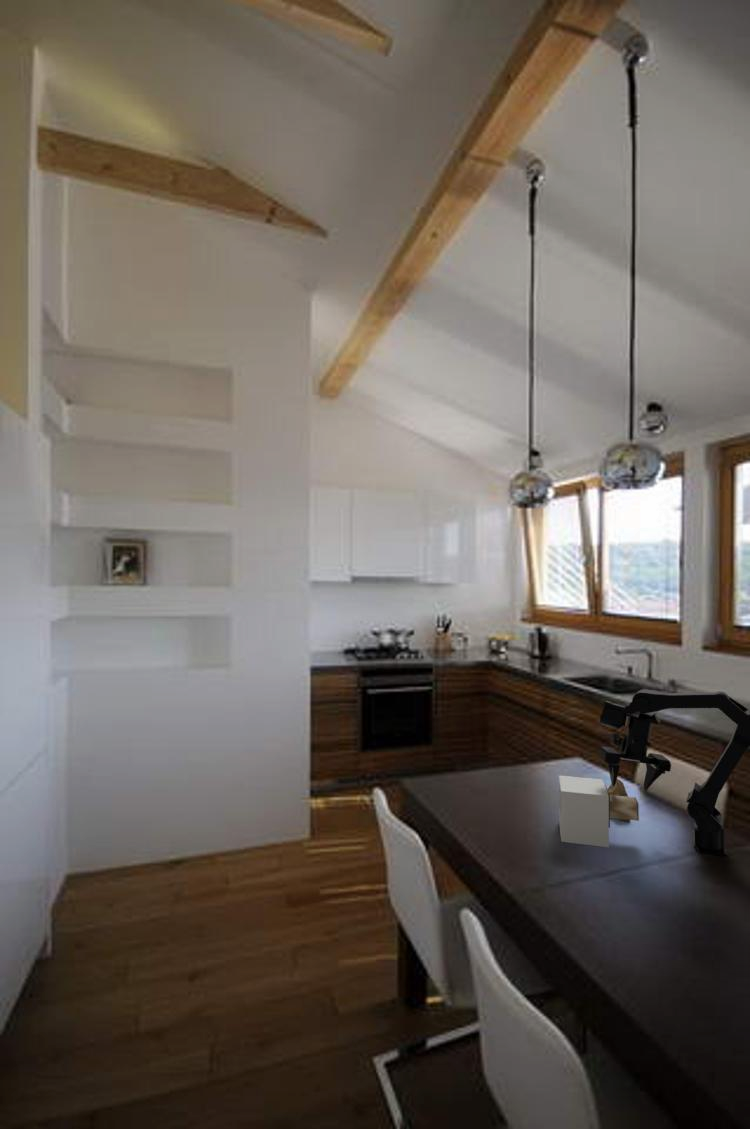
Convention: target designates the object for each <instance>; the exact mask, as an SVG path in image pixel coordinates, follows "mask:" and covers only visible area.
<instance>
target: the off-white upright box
mask: <svg viewBox="0 0 750 1129" xmlns="http://www.w3.org/2000/svg"><path fill="white" fill-rule="evenodd" d="M558 824H559V832H560V833H559V835H560V842H563V843H570V844H578V845H585V846H586V845H587V846H595V847H603V848H610V839H609V838H610V829H611V818H610V795H609V792H608V786H607V784H605V783H604V779H603V778H590V777H579V776H578V777H577V776H570V775H558Z"/></svg>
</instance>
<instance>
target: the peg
mask: <svg viewBox="0 0 750 1129" xmlns="http://www.w3.org/2000/svg"><path fill="white" fill-rule="evenodd" d="M639 806H640V805H639V801H638V799H637V798H636V796H634V797H632V796H628V797H625V796H615V795H610V819H611V818H612V819H619V820H621V819H628V820H630V821H636V822H637V821H640V820H639V819H640V817H639V816H640V815H639V814H640V813H639V811H640V810H639V808H640V807H639Z"/></svg>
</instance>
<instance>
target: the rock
mask: <svg viewBox="0 0 750 1129" xmlns="http://www.w3.org/2000/svg"><path fill="white" fill-rule="evenodd" d="M607 789H608V792H609V795H615V796H625V797H629V796H628V792H627V790H626V787H625V784H624V782H623V781H622V780H620V779H619V778H617V781H616V784H615V786H612V784H610V785H609V786H608V787H607ZM620 820H621V821H623V822H624V821H625V822H629V821H630V822H631V820H628V819H620Z"/></svg>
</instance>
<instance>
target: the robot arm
mask: <svg viewBox="0 0 750 1129" xmlns="http://www.w3.org/2000/svg"><path fill="white" fill-rule="evenodd" d="M669 709H718V710H720V711H721V713H723V714H724V715H725V716H727V717H728V718H729V719H730V720H731V721H732V722H733V723H734V724H735V727H734V731H733V733H732V735H731V736H732V737H731V739H730V741H729V742H728V744H727V746H726V748H725V749H724V750H723V752H722V754H721V756H720V757H719V759H718V760H717V762H716V764H715V766H713V768H712V770H711V772H710V773H709V775H708V777H707V778H706V780H705V781H704V782H703V783H702V784H699V783H697V782H694V786H693V788H692V790H691V791H690V792H688V794H687V797H686V801H685V802H686V803H687V805H686V811H687V812H688V816H690V818H692V819H693V820H694V824H693V825H694V826H693V827H692V829H691V832H692V833H691V836H692V838H691V839H692V844H693V846H694V847H695V848H696V850H697V851H698V852H699V853H703V854H704V853H705V854H713V855H719V856H720V855H721V856H727V852H726V850H725V828H724V826H723V825H722V824H723V823H722V822H723V821H722V820H723V814H722V813H721V812H720V811H719V810H718V808H717V807H716V804H717V802H718V798H719V795H720V793H721V791H722V790H723V788H724V786H725V784H726V783H727V782H728V780H729V779H730V777H731V775H732V773H733V772H734V771H735V768H736V767H737V765H738V764H739V762H740V760H741V759H742V757H743V756H744V754H745V753H746V751H747V750H748V749H749V748H750V709H748V708H747V707H746V706H745V705H743V704H741V702H739V701H737V700H735V699H734V698H732V697H730V696H729V694H727V693H726V692H725V691H714V692H674V693H673V692H672V693H670V692H665V691H659V690H653V689H647V688H646V689H639V690H638V691H637V692H636V693H635V694H634V695H633V697H632V699H631V702H628V703H626V704H625V705H621V704H618V703H614V702H613V701H608V700H605V701H604V705H603V708H602V711H601V713H600V716H599V724H601V725H603V726H608V727H611V728H614V729H617V730H622V729H623V727H624V728H627V731H626V732H627V733H624V734H623V737H620V734H619V733H614V732H613V733H612V732H611V733H610V736H609V745H612V746H615V749H614V747H608V746H600V747H599V748H598V751H597V756H598V757H599V758H600V759H601V761H603V762H605V763H606V766H607V769H608V772H609V777H610V778H609V779H610V783H611V784H612V786H615V784H616V781H617V779H618V776H619V772H620V769H621V767H620V765H619V763H620V762H621V761H623V762H625V761H626V762H631V763H639V764H645V767H646V771H645V775H644V776H645V777H644V781H643V788H642V789H643V790H644V791H645V792H646V791H648V789H649V788H650V787H651V786H652V785H653V783H655V781H656V780H657V779H659V778H660V776H662V775H664V774H666V772H671V770H672V762H671V761H670V760H669V759H668V758H667V757H665V756H664V755H663V754H660V753H653V752H649V753H648V749H649V748H648V747H651V746H652V742H650V738H651V736H650V735H651V731H652V727H653V726H652V725H653V724H654V725H659V724H661V723H660V722H661V719H660V718H659V717H658V716H657V714H656V712H660V711H665V710H669ZM654 712H655V713H654ZM638 713H639V714H638ZM649 713H652V714H649ZM628 720H629V721H628ZM628 722H629V723H628ZM627 725H628V727H627ZM616 749H617V750H618V749H619V751H620V752H618V751H617V750H616ZM647 753H648V754H647ZM611 784H610V785H611Z"/></svg>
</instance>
